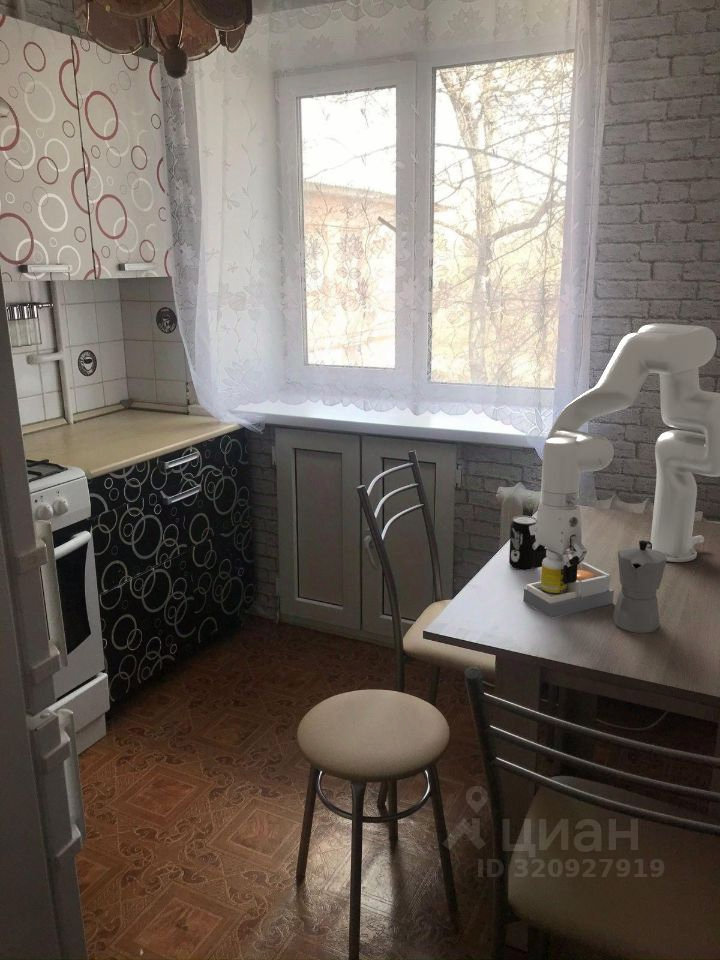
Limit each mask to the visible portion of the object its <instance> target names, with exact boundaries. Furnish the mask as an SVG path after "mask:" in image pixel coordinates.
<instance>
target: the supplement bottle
mask: <svg viewBox="0 0 720 960" xmlns="http://www.w3.org/2000/svg"><path fill="white" fill-rule="evenodd" d="M546 556H547V557H546V558H544V559H543V561H542V567H541V573H540V575H541V576H540V581H541V585H540V591H542V592H543V593H545V594H547V595H549V596H550V597H552V596H557V595H561V594H565V593H566V585H567V584H564V583H563V568H564V565H566V563H565V561H564V558H563V556H562V555H561V554H558V553H556V552H554V551H552V550H550V549H548V548H547V550H546Z"/></svg>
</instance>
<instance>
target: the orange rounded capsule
mask: <svg viewBox="0 0 720 960" xmlns="http://www.w3.org/2000/svg"><path fill="white" fill-rule="evenodd" d="M591 578H594V575H593V574H592V573H590V572H588V571H583V570H577V581H579V582H580V581H582V580H586V579H591ZM579 590H580V588H579Z"/></svg>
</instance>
